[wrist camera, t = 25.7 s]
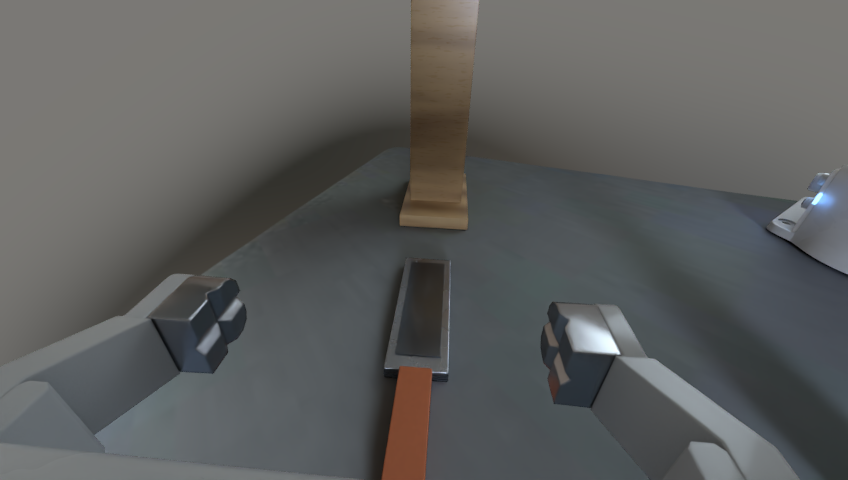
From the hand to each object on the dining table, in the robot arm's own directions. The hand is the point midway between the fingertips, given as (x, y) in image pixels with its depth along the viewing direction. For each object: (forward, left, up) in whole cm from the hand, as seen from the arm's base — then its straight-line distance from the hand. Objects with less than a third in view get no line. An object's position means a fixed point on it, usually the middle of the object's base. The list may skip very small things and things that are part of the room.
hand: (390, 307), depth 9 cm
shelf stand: (-28, -23, -15) cm, 39 cm away
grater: (-8, -7, -15) cm, 18 cm away
